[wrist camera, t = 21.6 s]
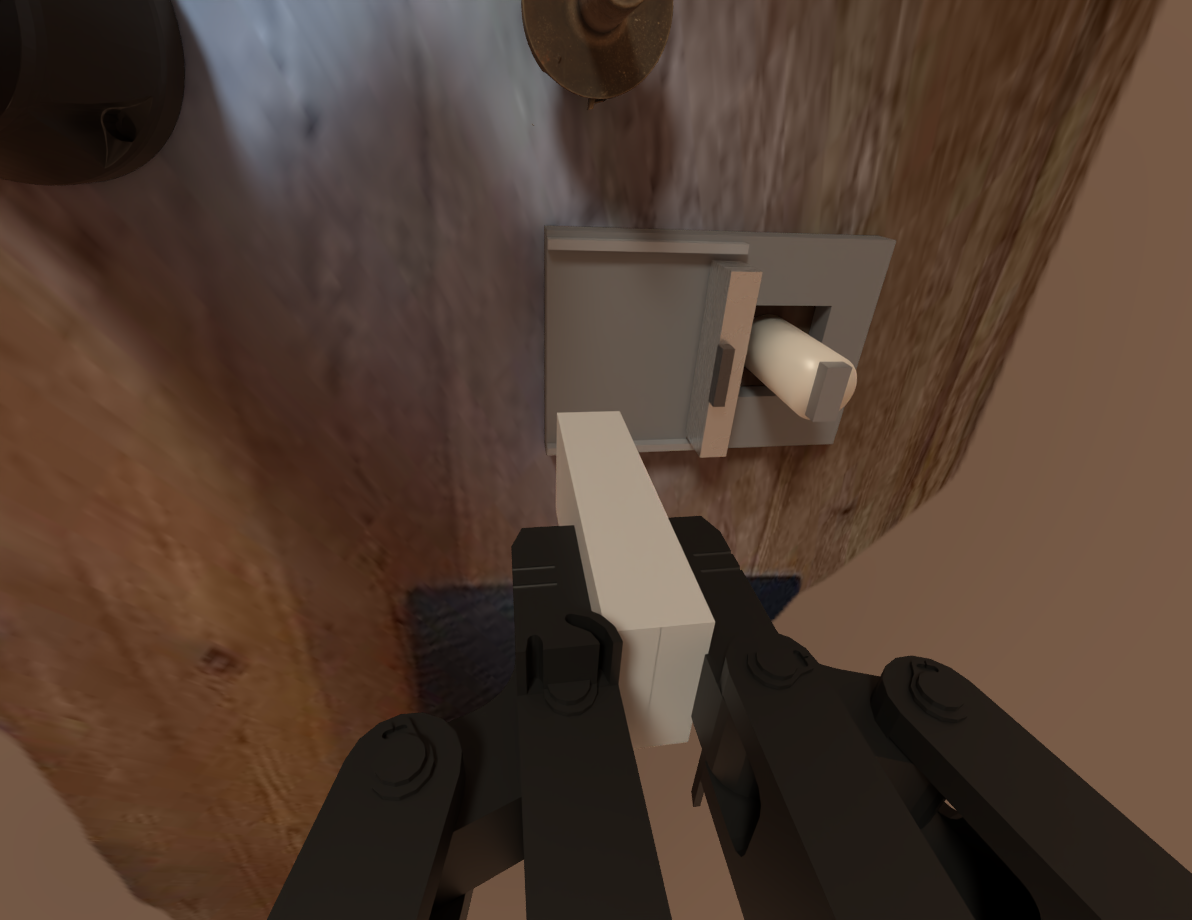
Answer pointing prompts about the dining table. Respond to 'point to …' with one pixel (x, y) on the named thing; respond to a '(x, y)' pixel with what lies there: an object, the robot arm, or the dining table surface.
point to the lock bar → (721, 355)
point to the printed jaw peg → (799, 369)
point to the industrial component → (597, 42)
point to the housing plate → (688, 323)
